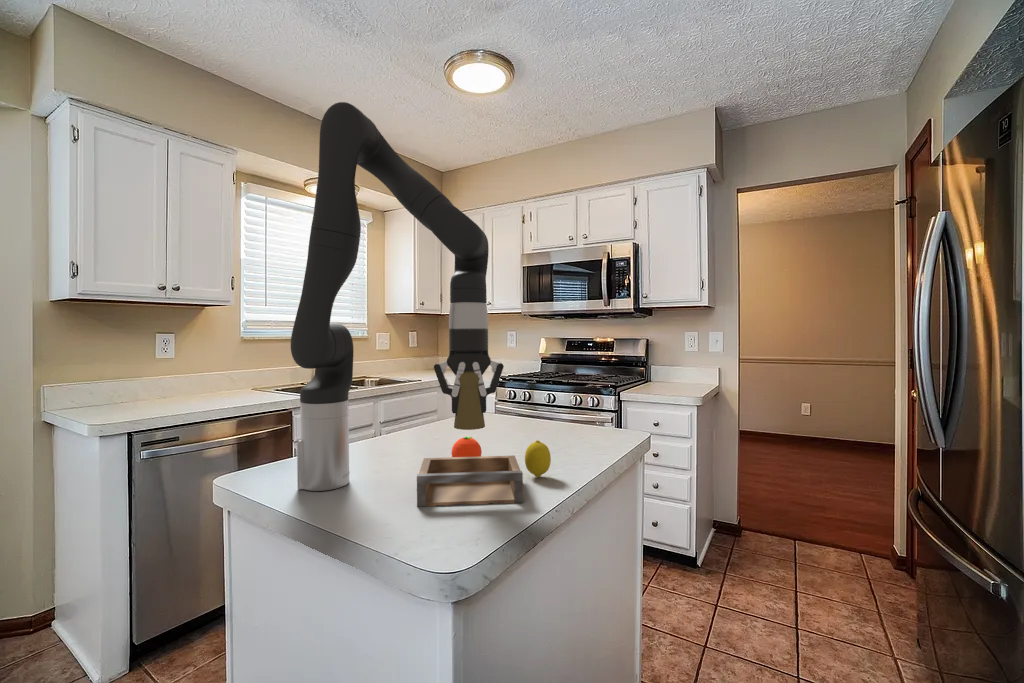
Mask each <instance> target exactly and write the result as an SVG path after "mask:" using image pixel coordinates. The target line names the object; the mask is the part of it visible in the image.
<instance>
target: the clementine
mask: <svg viewBox="0 0 1024 683" xmlns="http://www.w3.org/2000/svg"><path fill="white" fill-rule="evenodd" d="M482 452H483V451H482V447H481V445H480V443H479V442H478V441H477V440H476V439H475V438H473V436H464V437H461V438H459V439H458V440H456V441H455V443H454V444H453V446H452V448H451V457H480V456H482Z"/></svg>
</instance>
